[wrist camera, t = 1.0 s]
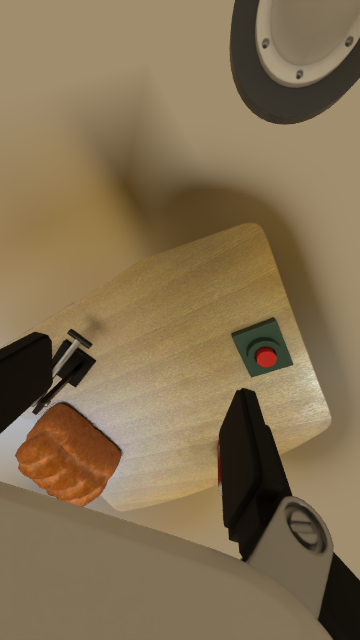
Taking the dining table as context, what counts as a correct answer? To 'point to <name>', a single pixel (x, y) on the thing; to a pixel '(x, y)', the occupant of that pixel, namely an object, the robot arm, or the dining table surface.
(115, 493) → the dining table surface
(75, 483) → the bread
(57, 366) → the lever
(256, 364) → the button box
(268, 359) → the button
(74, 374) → the bracket
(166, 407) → the dining table surface
